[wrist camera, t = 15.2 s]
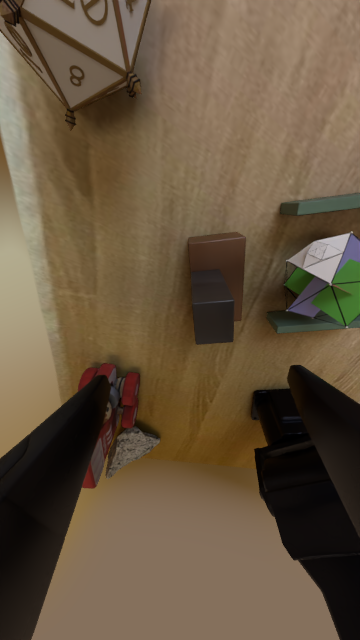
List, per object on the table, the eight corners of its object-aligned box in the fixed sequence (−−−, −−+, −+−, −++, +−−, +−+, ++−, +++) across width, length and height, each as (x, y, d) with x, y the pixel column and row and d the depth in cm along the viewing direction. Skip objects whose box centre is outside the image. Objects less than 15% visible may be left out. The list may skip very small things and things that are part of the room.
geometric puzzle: (402, 266, 16) (454, 262, 10) (337, 329, 19) (345, 356, 13) (317, 230, 19) (316, 209, 12) (273, 290, 22) (254, 297, 16)
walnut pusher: (235, 306, 21) (262, 366, 13) (194, 310, 21) (198, 370, 14) (237, 231, 17) (277, 254, 9) (188, 237, 18) (188, 264, 10)
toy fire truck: (141, 357, 25) (116, 441, 16) (138, 413, 32) (119, 496, 23) (87, 350, 25) (31, 431, 16) (95, 408, 31) (58, 490, 22)
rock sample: (158, 477, 35) (116, 510, 28) (133, 448, 39) (91, 470, 32) (175, 425, 34) (136, 445, 27) (147, 401, 38) (107, 413, 31)
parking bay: (361, 310, 21) (389, 328, 18) (266, 318, 22) (278, 336, 19) (412, 185, 15) (466, 181, 12) (281, 202, 16) (301, 202, 13)
